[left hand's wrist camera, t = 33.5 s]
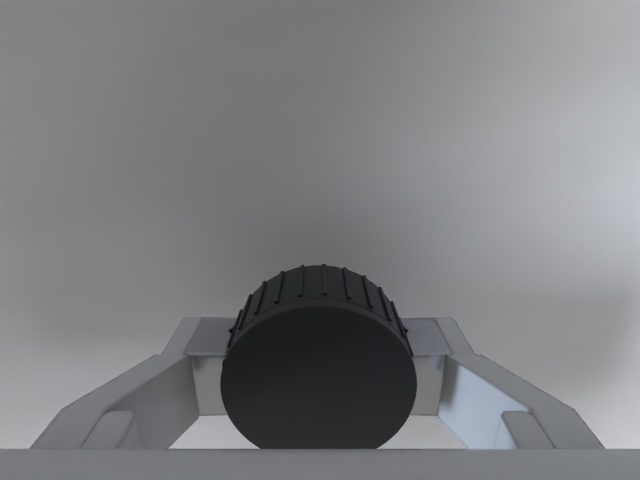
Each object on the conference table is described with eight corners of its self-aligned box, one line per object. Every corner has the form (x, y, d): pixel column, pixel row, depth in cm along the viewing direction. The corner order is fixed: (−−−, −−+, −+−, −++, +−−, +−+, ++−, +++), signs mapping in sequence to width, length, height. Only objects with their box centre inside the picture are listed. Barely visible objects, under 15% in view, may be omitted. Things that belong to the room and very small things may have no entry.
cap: (237, 399, 11) (220, 462, 9) (235, 256, 9) (213, 297, 7) (390, 405, 11) (405, 469, 9) (412, 266, 9) (435, 309, 8)
